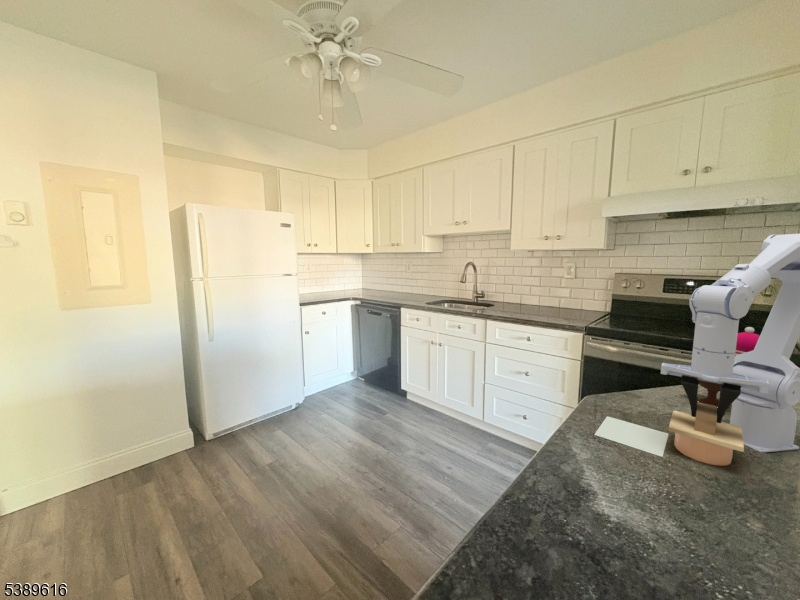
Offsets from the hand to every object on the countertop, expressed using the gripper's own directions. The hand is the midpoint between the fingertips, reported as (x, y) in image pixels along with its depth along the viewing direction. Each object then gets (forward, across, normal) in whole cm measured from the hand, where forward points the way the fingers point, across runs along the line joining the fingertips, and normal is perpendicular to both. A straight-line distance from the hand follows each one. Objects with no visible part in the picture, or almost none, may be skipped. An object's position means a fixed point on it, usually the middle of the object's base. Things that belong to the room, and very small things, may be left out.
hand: (705, 418), depth 62 cm
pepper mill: (+8, +7, +42) cm, 43 cm away
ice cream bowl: (+8, +1, +31) cm, 32 cm away
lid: (+3, 0, 0) cm, 3 cm away
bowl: (+8, 0, 0) cm, 8 cm away
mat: (+8, -11, -1) cm, 13 cm away
